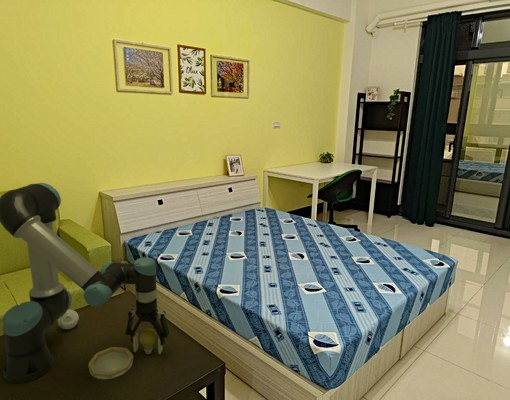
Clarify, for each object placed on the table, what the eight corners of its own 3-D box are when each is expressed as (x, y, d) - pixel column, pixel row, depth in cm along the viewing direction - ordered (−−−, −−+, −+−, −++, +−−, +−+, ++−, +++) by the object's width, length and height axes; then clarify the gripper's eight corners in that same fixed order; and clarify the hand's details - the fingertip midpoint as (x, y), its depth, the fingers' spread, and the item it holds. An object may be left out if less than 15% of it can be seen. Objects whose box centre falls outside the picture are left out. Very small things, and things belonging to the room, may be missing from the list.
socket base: (80, 377, 124) (80, 372, 124) (101, 349, 139) (101, 345, 138) (122, 381, 124) (122, 376, 123) (139, 352, 138) (138, 348, 138)
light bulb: (152, 359, 135) (151, 336, 133) (136, 356, 136) (135, 333, 134) (160, 348, 142) (159, 326, 139) (144, 345, 143) (144, 323, 140)
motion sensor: (58, 334, 147) (56, 318, 145) (58, 324, 153) (56, 309, 152) (79, 329, 151) (78, 313, 149) (78, 320, 157) (77, 304, 155)
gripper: (113, 301, 130) (116, 354, 135) (172, 305, 129) (172, 359, 134) (122, 291, 137) (124, 342, 142) (177, 295, 136) (178, 346, 141)
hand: (148, 350), depth 138 cm, fingers open, 9 cm apart
